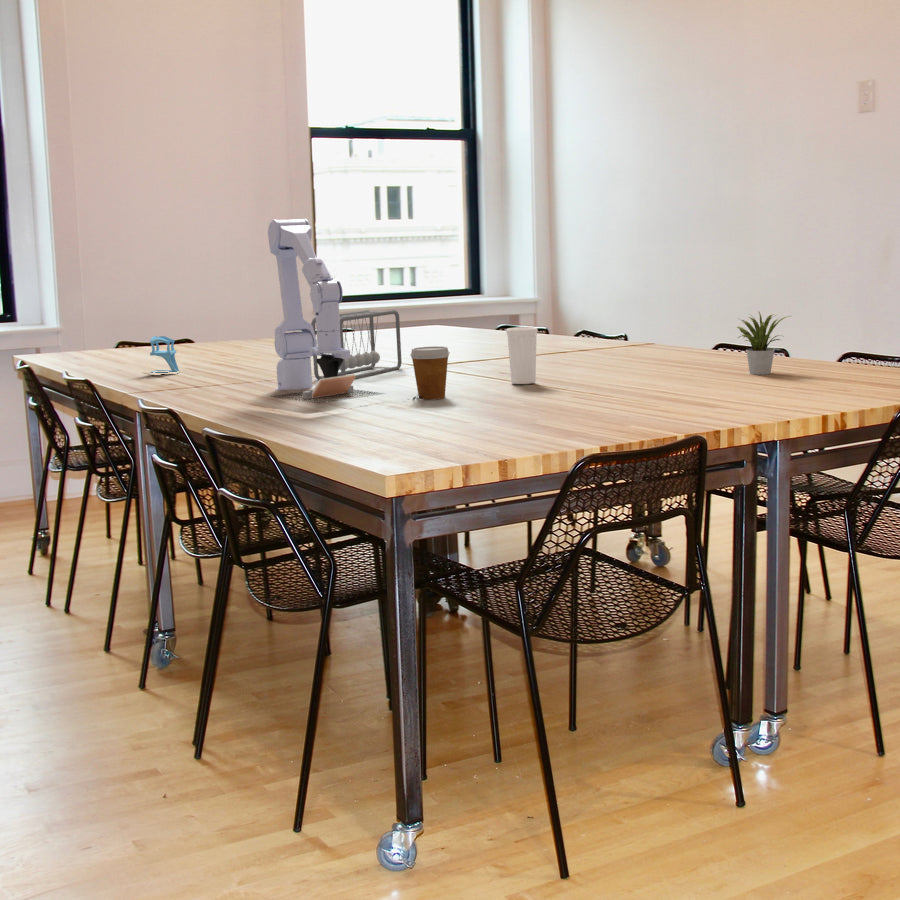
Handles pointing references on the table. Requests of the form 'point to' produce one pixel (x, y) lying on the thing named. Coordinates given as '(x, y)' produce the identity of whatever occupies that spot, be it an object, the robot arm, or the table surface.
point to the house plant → (759, 345)
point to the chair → (164, 352)
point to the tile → (333, 385)
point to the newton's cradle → (365, 357)
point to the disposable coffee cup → (430, 371)
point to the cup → (522, 354)
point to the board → (309, 395)
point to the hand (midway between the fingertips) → (331, 386)
